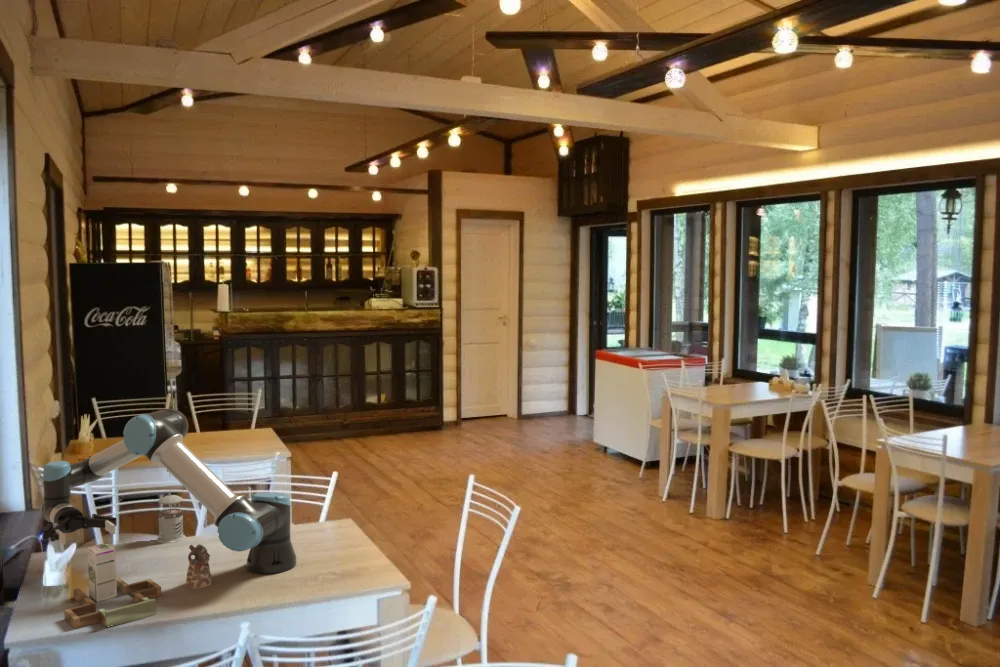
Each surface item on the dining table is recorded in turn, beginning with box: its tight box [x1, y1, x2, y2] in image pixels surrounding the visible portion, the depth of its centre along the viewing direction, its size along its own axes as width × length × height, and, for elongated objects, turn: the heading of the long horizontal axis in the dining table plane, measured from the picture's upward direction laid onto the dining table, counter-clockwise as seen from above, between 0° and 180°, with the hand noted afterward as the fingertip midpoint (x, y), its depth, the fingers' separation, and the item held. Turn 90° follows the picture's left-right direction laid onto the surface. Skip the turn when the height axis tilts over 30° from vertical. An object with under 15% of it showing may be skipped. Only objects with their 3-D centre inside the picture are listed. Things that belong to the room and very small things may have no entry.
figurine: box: [185, 544, 213, 590], centre depth 236 cm, size 7×7×12 cm
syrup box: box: [87, 542, 118, 603], centre depth 226 cm, size 6×6×14 cm
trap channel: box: [64, 577, 162, 630], centre depth 220 cm, size 27×25×4 cm
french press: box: [155, 469, 187, 544], centre depth 278 cm, size 10×12×25 cm
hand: (89, 534), depth 232 cm, fingers open, 13 cm apart
